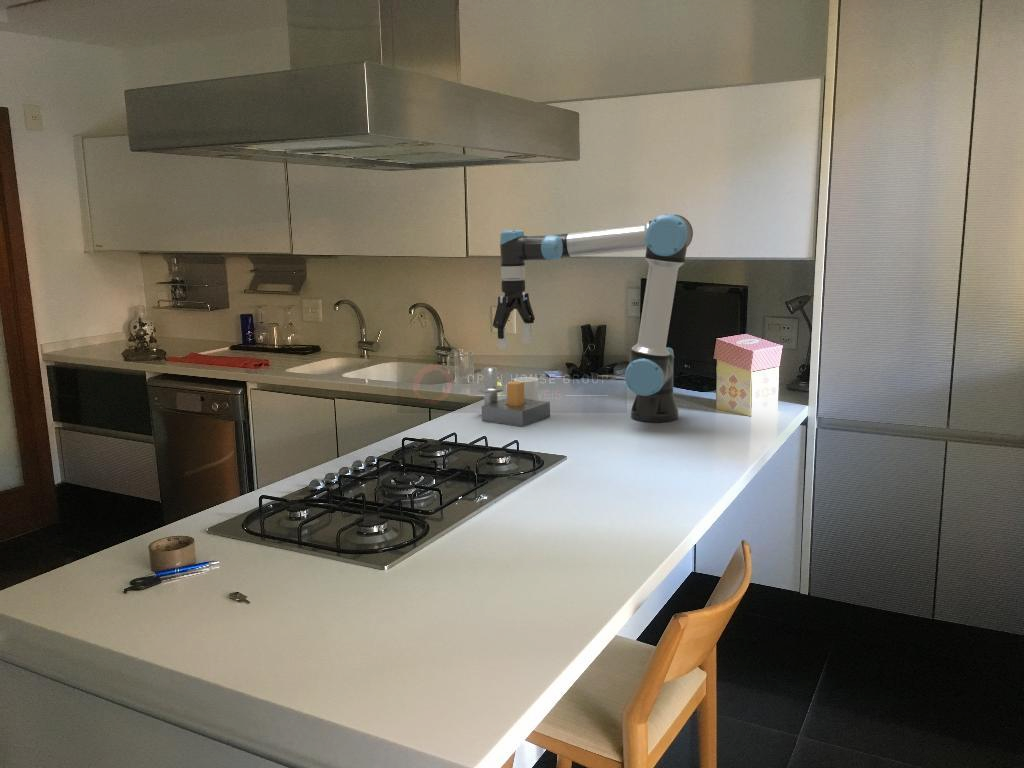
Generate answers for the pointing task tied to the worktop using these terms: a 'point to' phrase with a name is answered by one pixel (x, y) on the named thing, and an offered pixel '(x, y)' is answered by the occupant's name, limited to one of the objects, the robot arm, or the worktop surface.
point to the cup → (528, 387)
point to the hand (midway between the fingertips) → (515, 346)
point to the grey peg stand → (507, 413)
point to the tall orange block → (515, 393)
